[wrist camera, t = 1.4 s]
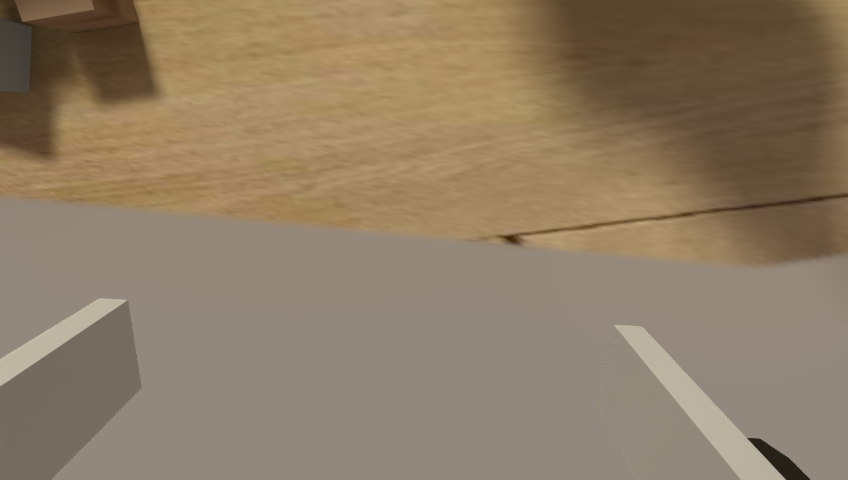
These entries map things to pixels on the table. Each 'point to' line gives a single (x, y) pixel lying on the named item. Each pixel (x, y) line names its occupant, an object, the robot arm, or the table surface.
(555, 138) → the table surface
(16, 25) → the slate block
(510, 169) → the table surface
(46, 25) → the walnut block
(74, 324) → the robot arm
